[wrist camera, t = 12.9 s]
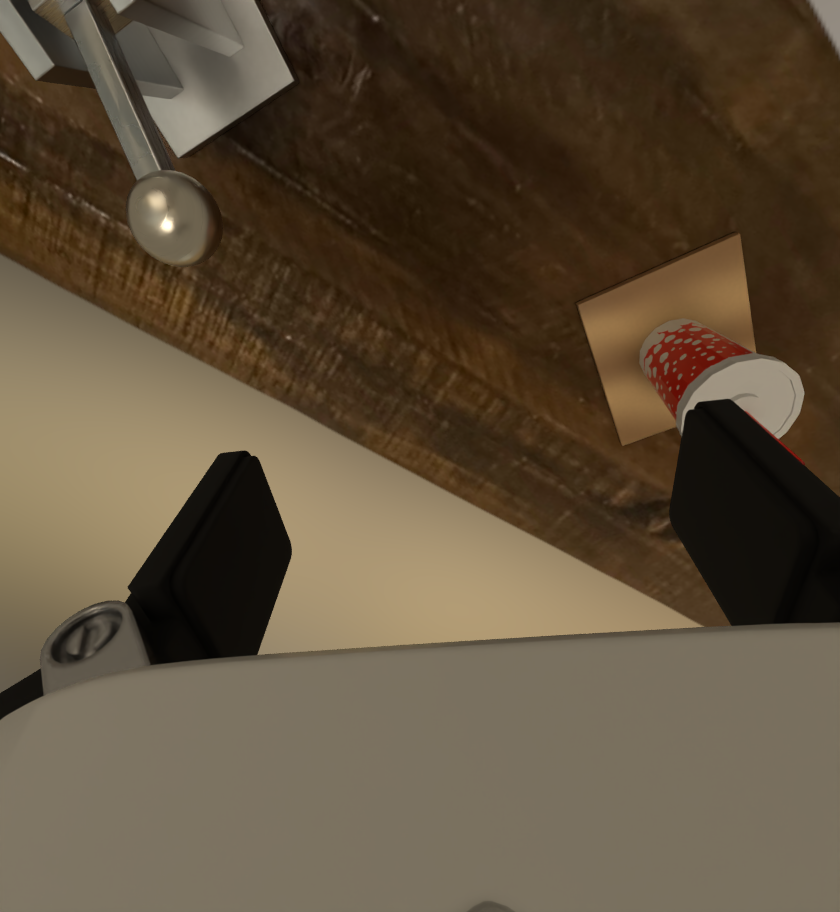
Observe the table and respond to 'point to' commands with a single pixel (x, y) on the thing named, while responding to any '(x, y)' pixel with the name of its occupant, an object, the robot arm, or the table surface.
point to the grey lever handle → (139, 141)
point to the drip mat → (649, 306)
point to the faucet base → (172, 61)
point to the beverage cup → (719, 376)
